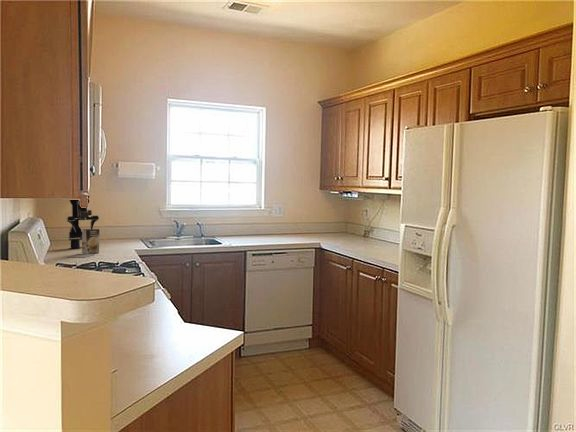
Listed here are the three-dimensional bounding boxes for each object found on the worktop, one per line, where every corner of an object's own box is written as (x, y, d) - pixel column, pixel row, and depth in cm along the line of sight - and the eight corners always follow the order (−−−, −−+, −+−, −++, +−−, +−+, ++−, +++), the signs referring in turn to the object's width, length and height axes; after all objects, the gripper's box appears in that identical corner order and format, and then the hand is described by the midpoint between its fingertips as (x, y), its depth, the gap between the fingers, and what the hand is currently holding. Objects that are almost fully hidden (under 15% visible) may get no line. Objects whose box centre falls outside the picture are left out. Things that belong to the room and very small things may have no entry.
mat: (78, 254, 319) (78, 253, 319) (95, 254, 318) (95, 254, 318) (67, 257, 308) (67, 256, 308) (84, 257, 306) (84, 257, 306)
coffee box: (86, 254, 318) (86, 229, 317) (81, 253, 322) (81, 229, 321) (99, 252, 325) (99, 229, 324) (94, 252, 329) (94, 228, 328)
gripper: (68, 206, 304) (70, 230, 302) (99, 205, 314) (101, 229, 312) (65, 209, 314) (67, 233, 312) (96, 208, 324) (97, 231, 322)
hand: (83, 231), depth 314 cm, fingers open, 9 cm apart
